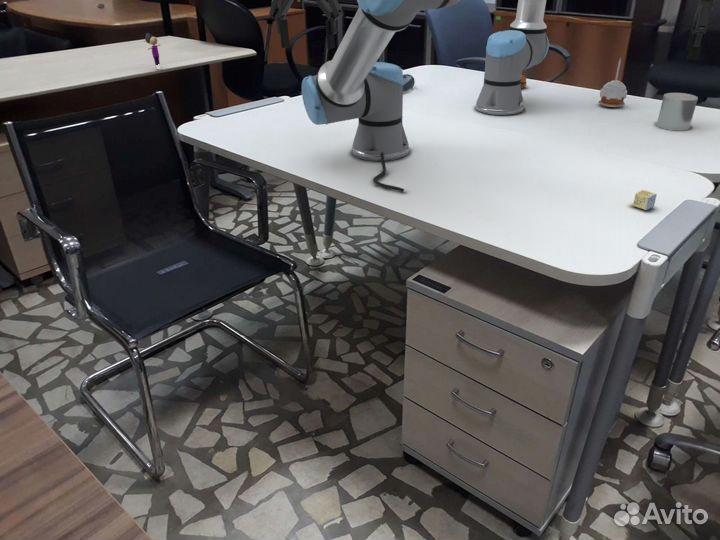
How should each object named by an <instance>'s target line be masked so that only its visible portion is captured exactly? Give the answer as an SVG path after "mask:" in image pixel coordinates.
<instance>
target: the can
mask: <svg viewBox="0 0 720 540" xmlns="http://www.w3.org/2000/svg"><path fill="white" fill-rule="evenodd" d="M698 99H699V98H698V96H696V95H694V94H691V93H686V92H685V93H684V92H667V93H664V94H663V96H662V101H661V104H660V109H659V113H658V117H657V120H656V126H657V127H658V128H661V129H664V130H668V131H687V130H689V129H690V128H691V125H692V121H693V118H694V114H695V110H696V106H697V103H698Z"/></svg>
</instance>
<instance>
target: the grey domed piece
mask: <svg viewBox="0 0 720 540" xmlns="http://www.w3.org/2000/svg"><path fill="white" fill-rule="evenodd" d="M621 63H622V57H619V58H618V63H617V69H616V74H615V78H614V79H612V80H611V81H608V82H607V83H605V84H604V85H603V87H602V88H600V92H599V98H600V100H598V105H601V106H604V107H607V108H621V107H623V106H625V104H626V103H625V101H624V100H625V99H627V95H628V90H627V87H626V85H625V84H624V83H623V82H621V81H620V80H618V77H619V74H620V67H621V65H622V64H621Z"/></svg>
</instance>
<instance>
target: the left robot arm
mask: <svg viewBox="0 0 720 540" xmlns="http://www.w3.org/2000/svg"><path fill="white" fill-rule="evenodd" d="M294 1H295V0H272V3H271V6H270V9H269V13H268V16H269V18H272V19H274V20H275V21H276V27H277V28H276V29H277V33H278V34H279V35H280V43H281V44H280V45H281V49H287V48H289V47H290V46H291V45H290V35H289V34H290V33H289V24H288V19H286V16H287V14H288V12H289V11H290V9H291V7H292V5H293V4H294ZM356 1H357V4H358V9H357V11H356V13H355V15H354V16H353V18H352V20H351V22H350V24H349V26H348V28H347V30H346V32H345V33H344V36H343V38H342V40H341V41H340V43H339V46H338V47H337V48H336V43H335V39H336V38H335V35H336V34H337V32H338V28H337V26H338V25H337V20H338V19H339V18H341V17H343V16H344V12H343V9H342V8H341V5H340V2H339V1H338V0H314V2H315V3H316V4H317V6H318V8H319V9H320V10H321V11H322V13H323V14H324V15H325V17H326V18H327V20H325V35H326V49H327V50H332V49H334V48H335V49H337V50H336V51H335V53H334V55H333V57H332V59H331V60H328V61H326V62H325V63H323V64H322V65H321V66H320V68H319V70H318V71H317V74H316V75H312V74H311V75H308V76H306V77H303V79H302V82H301V97H302V102H303V106H304V109H305V112H306V114H307V117H308V119H309V120H310V122H311V123H312V124H314V125H317V126H320V125H322V126H323V125H326V126H327V125H329V124H335V123H340V122H345V121H350V120H351V121H352V120H356V119H358V125H357V128H356V131H355V135H354V138H353V141H352V144H351V147H352V155H353V156H354V157H356V158H358V159H360V160H364V161H371V162H381V167H382V171H381V173H379V174H377V175H375V176H374V177H373V179H372V180H373V183H374V184H375V185H377V186H379V187H381V188H384V189H387V190H394V191H397V192H402V193H404V192H405V189H404V188H403V187H399V186H395V185H391V184H387V183H383V182H380V181H379V180H378V179H380V178H382V177H383V176H385V174H386V172H387V167H386V162H389V161H394V160H398V159H399V160H400V159H401V158H404V157H406V156H407V155H409V151H410V150H409V149H410V145H409V141H408V137H407V134H406V132H405V128H404V125H403V124H404V123H403V108H404V107H403V106H404V102H403V101H404V92H403V85H404V83H403V75H404V74H403V73H404V72H403V69H402V68H401V67H400V66H398V65H397V64H393V63H389V62H385V61H384V62H383V61H378V60H379V59H380V57H381V55H382V54H383V53H384V50H385V49H386V48H387V46H388V44H389V43H390V41H391V39H392V38H393V36H394V35H395V33H396V32H401V31H403V30H406V29H407V28H408V27H409V26H410V25H411V23H412V21H414V19H415V17H416V16H417V15H418V13H419V12H421V11H430V10H439V9H445V8H449V7H452V6H454V5H456V4H458V3H459V2H460V1H461V0H356Z"/></svg>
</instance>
